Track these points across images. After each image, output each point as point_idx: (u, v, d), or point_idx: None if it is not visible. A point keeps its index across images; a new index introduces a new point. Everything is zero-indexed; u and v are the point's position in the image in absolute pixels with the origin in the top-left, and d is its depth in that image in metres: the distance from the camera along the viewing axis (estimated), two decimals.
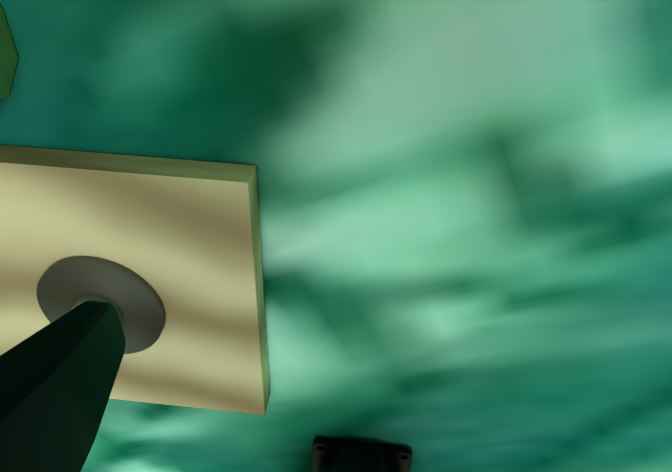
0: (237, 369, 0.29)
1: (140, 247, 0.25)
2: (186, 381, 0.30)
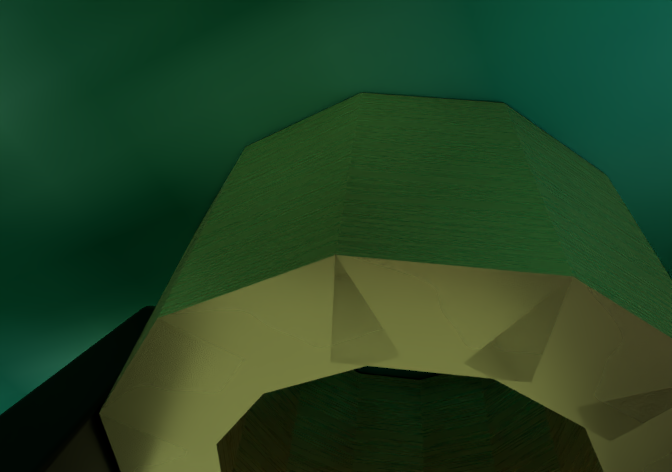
0: None
1: None
2: None
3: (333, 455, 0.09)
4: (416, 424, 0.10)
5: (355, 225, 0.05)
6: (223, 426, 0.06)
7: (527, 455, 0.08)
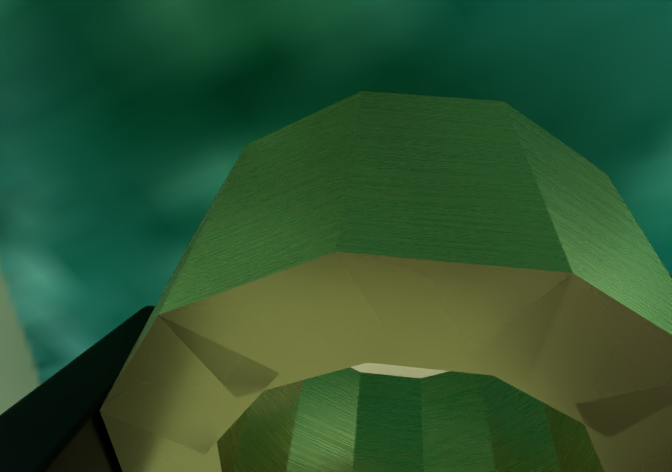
0: None
1: None
2: None
3: (333, 453, 0.09)
4: (416, 422, 0.10)
5: (356, 223, 0.05)
6: (223, 423, 0.06)
7: (527, 453, 0.08)
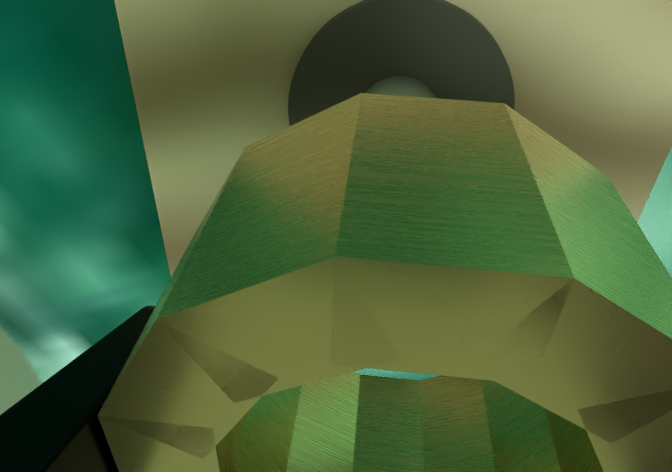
0: None
1: None
2: None
3: (333, 457, 0.09)
4: (416, 425, 0.10)
5: (355, 227, 0.05)
6: (222, 428, 0.06)
7: (527, 457, 0.08)
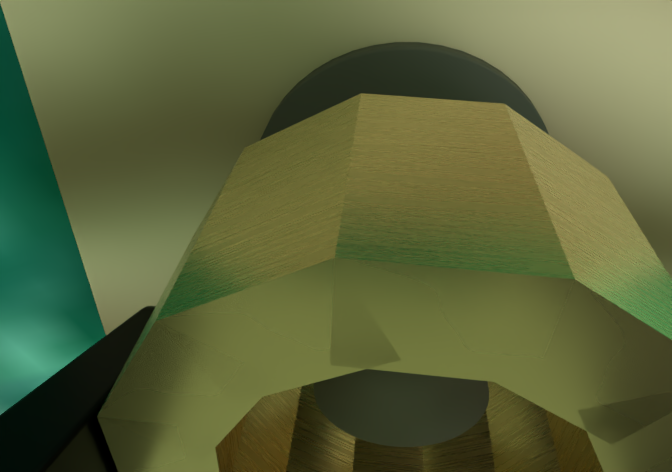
0: None
1: (578, 5, 0.09)
2: None
3: (333, 457, 0.09)
4: None
5: (354, 227, 0.05)
6: (222, 429, 0.06)
7: (528, 457, 0.08)
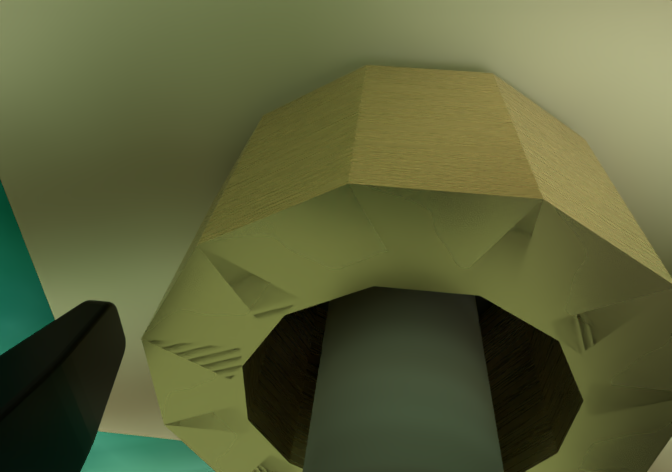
0: None
1: (609, 35, 0.08)
2: None
3: None
4: None
5: (364, 163, 0.06)
6: (248, 348, 0.07)
7: (515, 391, 0.09)
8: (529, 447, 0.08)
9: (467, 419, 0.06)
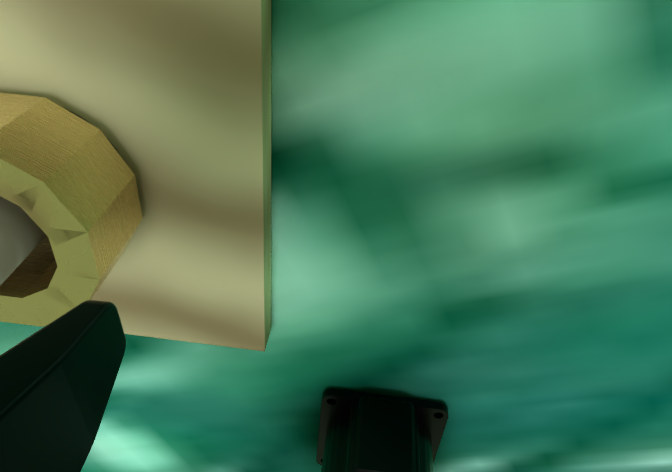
0: (231, 283, 0.22)
1: (100, 82, 0.17)
2: (163, 300, 0.23)
3: None
4: None
5: None
6: None
7: None
8: None
9: None
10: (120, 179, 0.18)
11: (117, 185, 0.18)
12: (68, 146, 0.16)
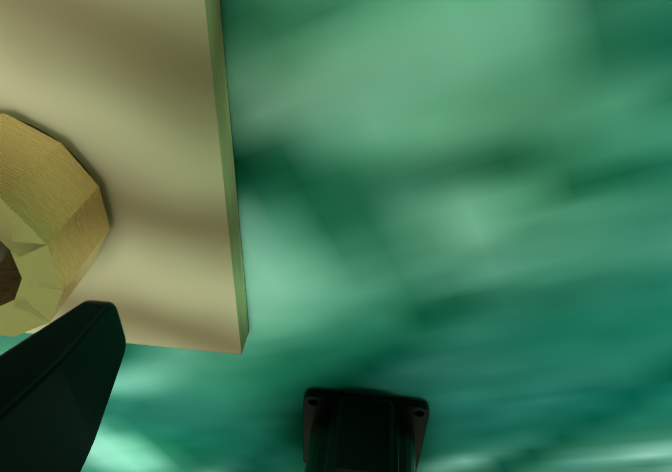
0: (203, 288, 0.22)
1: (58, 97, 0.18)
2: (138, 306, 0.23)
3: None
4: None
5: None
6: None
7: None
8: None
9: None
10: (83, 191, 0.18)
11: (79, 197, 0.18)
12: (27, 161, 0.17)
